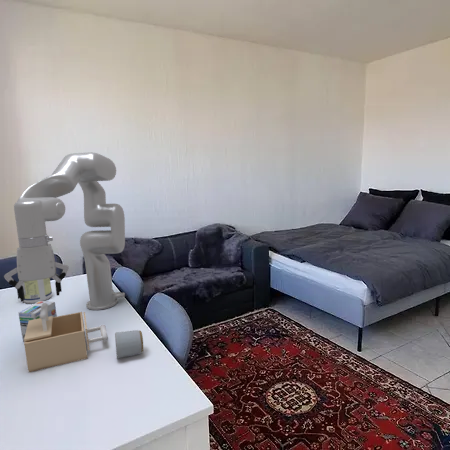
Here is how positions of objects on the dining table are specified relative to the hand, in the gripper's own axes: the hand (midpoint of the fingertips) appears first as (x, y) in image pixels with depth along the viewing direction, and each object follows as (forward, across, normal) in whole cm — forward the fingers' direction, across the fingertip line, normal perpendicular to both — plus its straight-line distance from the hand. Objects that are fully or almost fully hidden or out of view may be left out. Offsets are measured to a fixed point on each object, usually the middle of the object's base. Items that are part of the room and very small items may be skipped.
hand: (40, 297), depth 109 cm
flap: (+10, +2, -1) cm, 10 cm away
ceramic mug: (+20, -23, +10) cm, 32 cm away
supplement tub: (+19, +7, -58) cm, 61 cm away
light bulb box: (+19, +3, -17) cm, 26 cm away
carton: (+19, -6, -1) cm, 20 cm away
